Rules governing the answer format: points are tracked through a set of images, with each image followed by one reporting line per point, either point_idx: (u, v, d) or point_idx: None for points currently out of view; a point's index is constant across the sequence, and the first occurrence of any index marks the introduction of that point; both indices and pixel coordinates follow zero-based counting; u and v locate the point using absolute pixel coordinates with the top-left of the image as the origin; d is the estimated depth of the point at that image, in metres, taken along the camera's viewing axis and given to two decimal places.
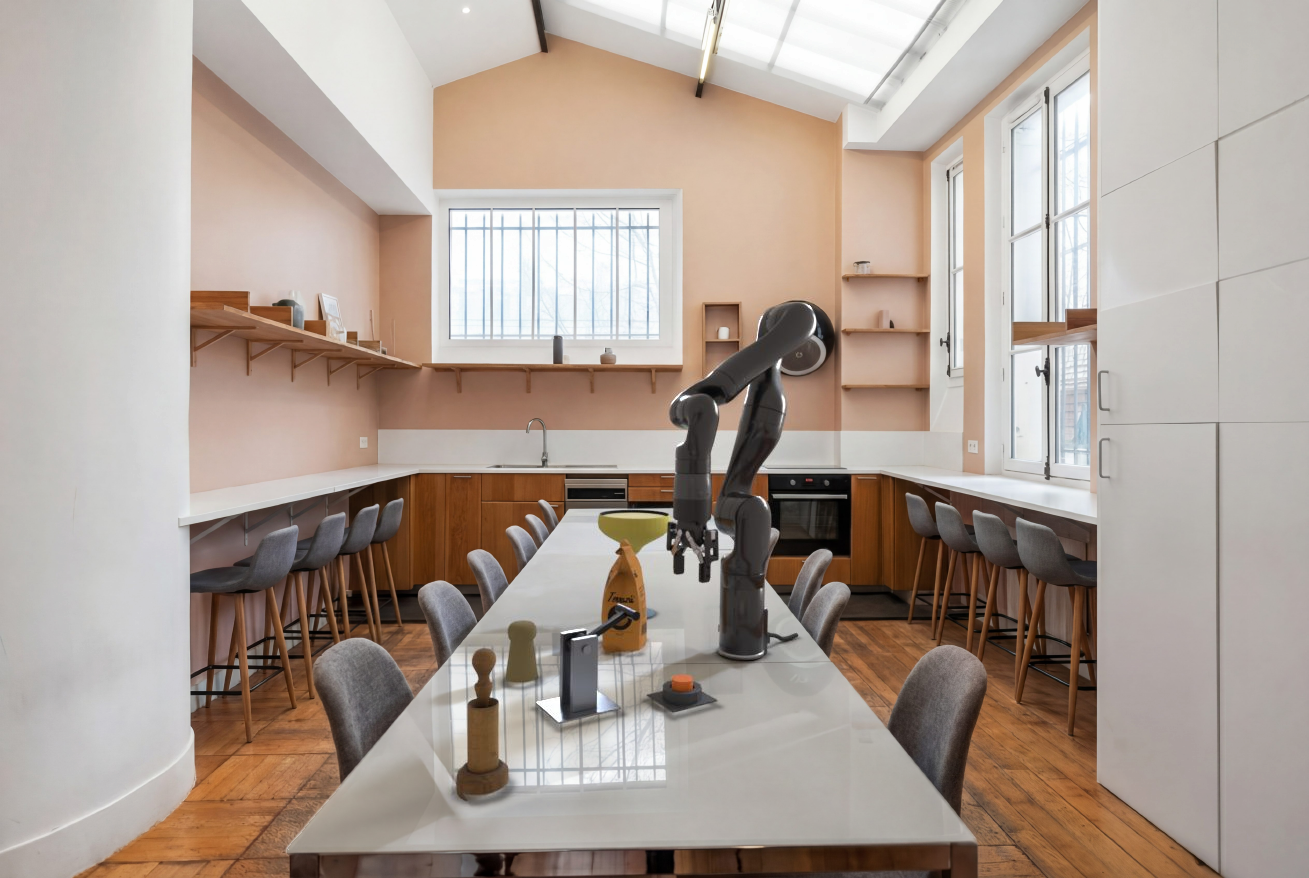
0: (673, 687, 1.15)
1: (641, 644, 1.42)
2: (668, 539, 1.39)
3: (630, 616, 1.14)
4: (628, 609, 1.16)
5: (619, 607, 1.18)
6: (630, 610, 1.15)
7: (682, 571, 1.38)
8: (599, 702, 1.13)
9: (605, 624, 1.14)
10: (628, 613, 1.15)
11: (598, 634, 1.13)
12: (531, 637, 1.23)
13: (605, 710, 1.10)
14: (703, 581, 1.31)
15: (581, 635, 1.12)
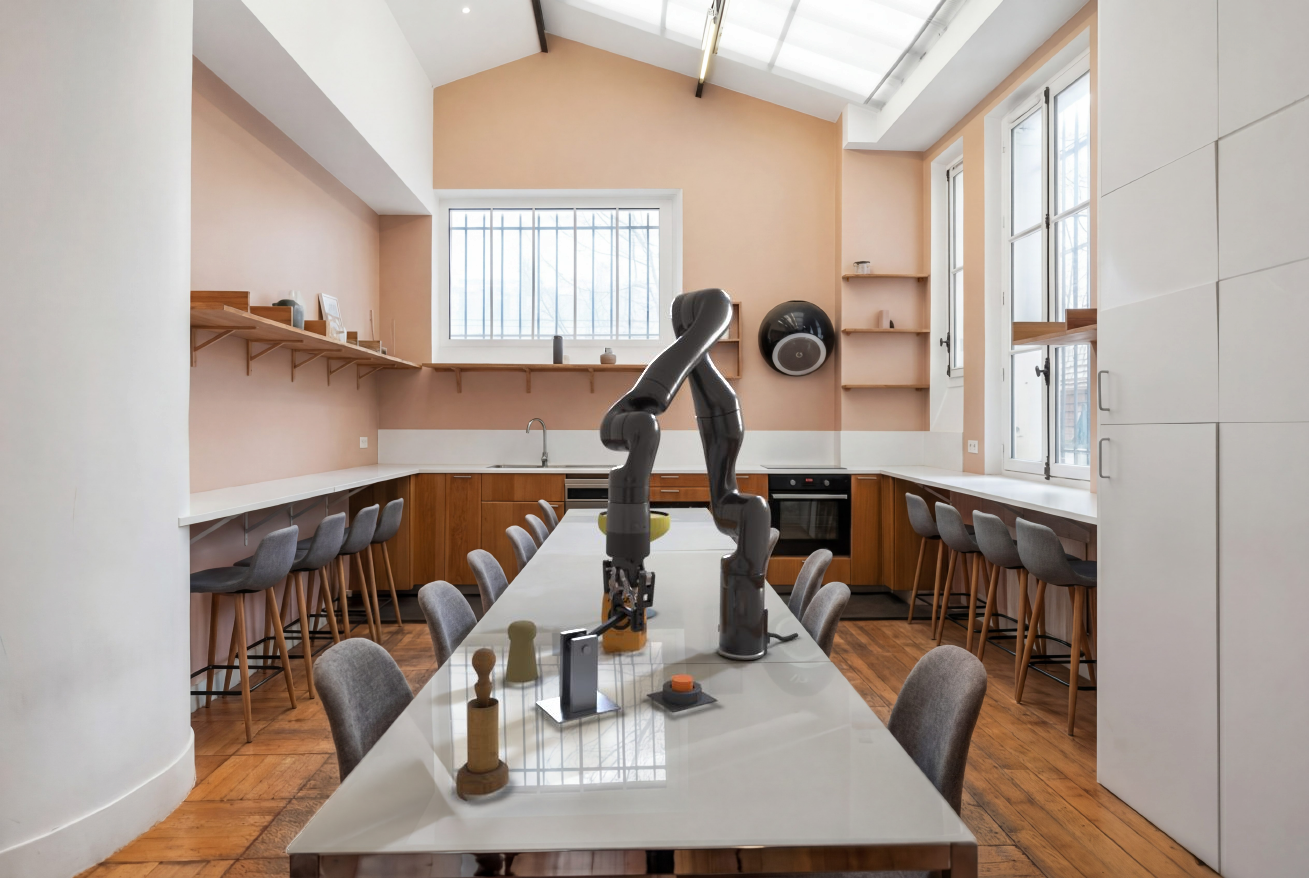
0: (673, 687, 1.15)
1: (641, 644, 1.42)
2: (605, 580, 1.21)
3: (630, 616, 1.14)
4: (628, 609, 1.16)
5: (619, 607, 1.18)
6: (630, 610, 1.15)
7: None
8: (599, 702, 1.13)
9: (605, 624, 1.14)
10: (628, 613, 1.15)
11: (598, 634, 1.13)
12: (531, 637, 1.23)
13: (605, 710, 1.10)
14: (635, 630, 1.13)
15: (581, 635, 1.12)
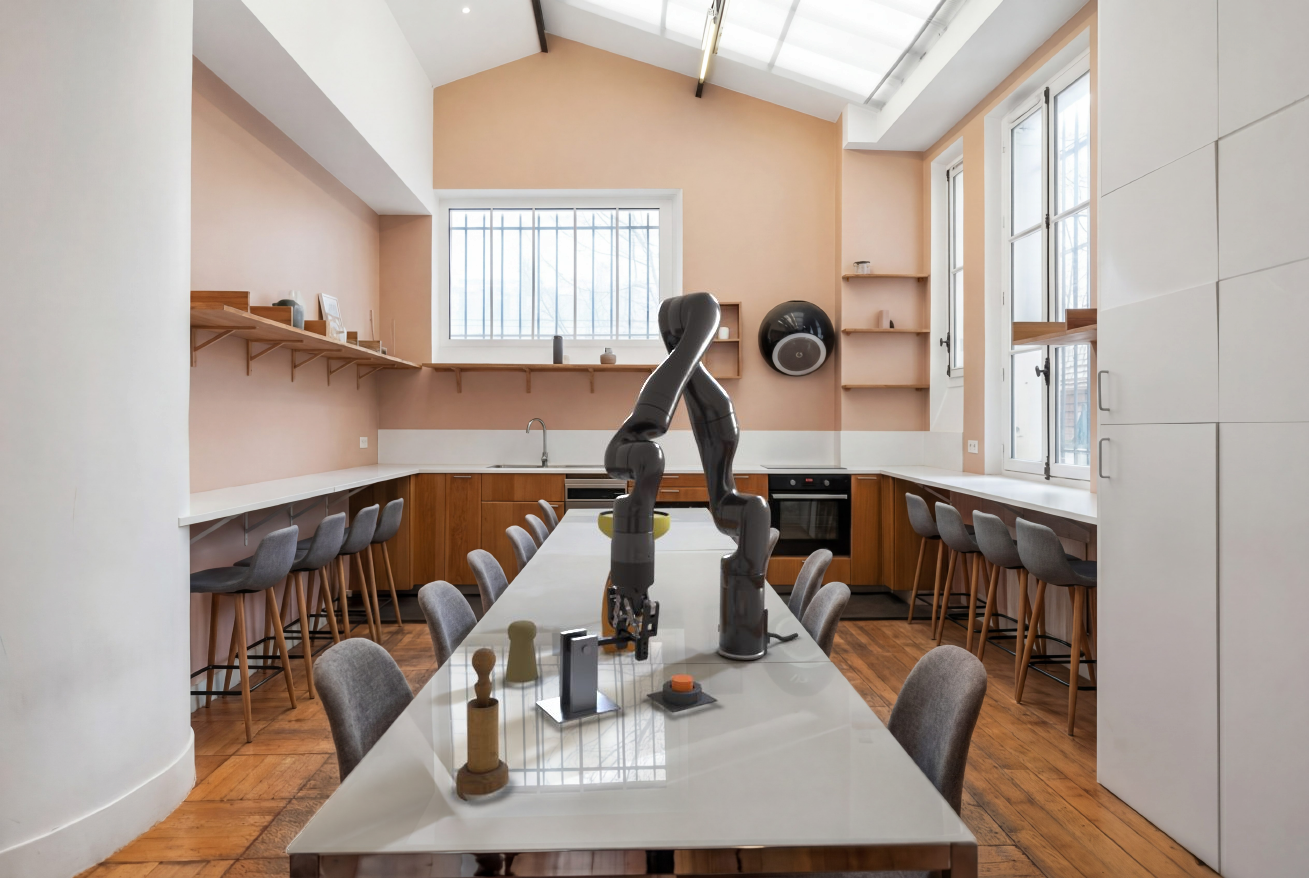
0: (673, 687, 1.15)
1: None
2: (609, 608, 1.21)
3: None
4: (634, 634, 1.16)
5: (625, 631, 1.18)
6: None
7: (625, 645, 1.20)
8: (599, 702, 1.13)
9: (609, 638, 1.15)
10: (633, 637, 1.16)
11: (599, 643, 1.13)
12: (531, 637, 1.23)
13: (605, 710, 1.10)
14: (640, 659, 1.14)
15: None
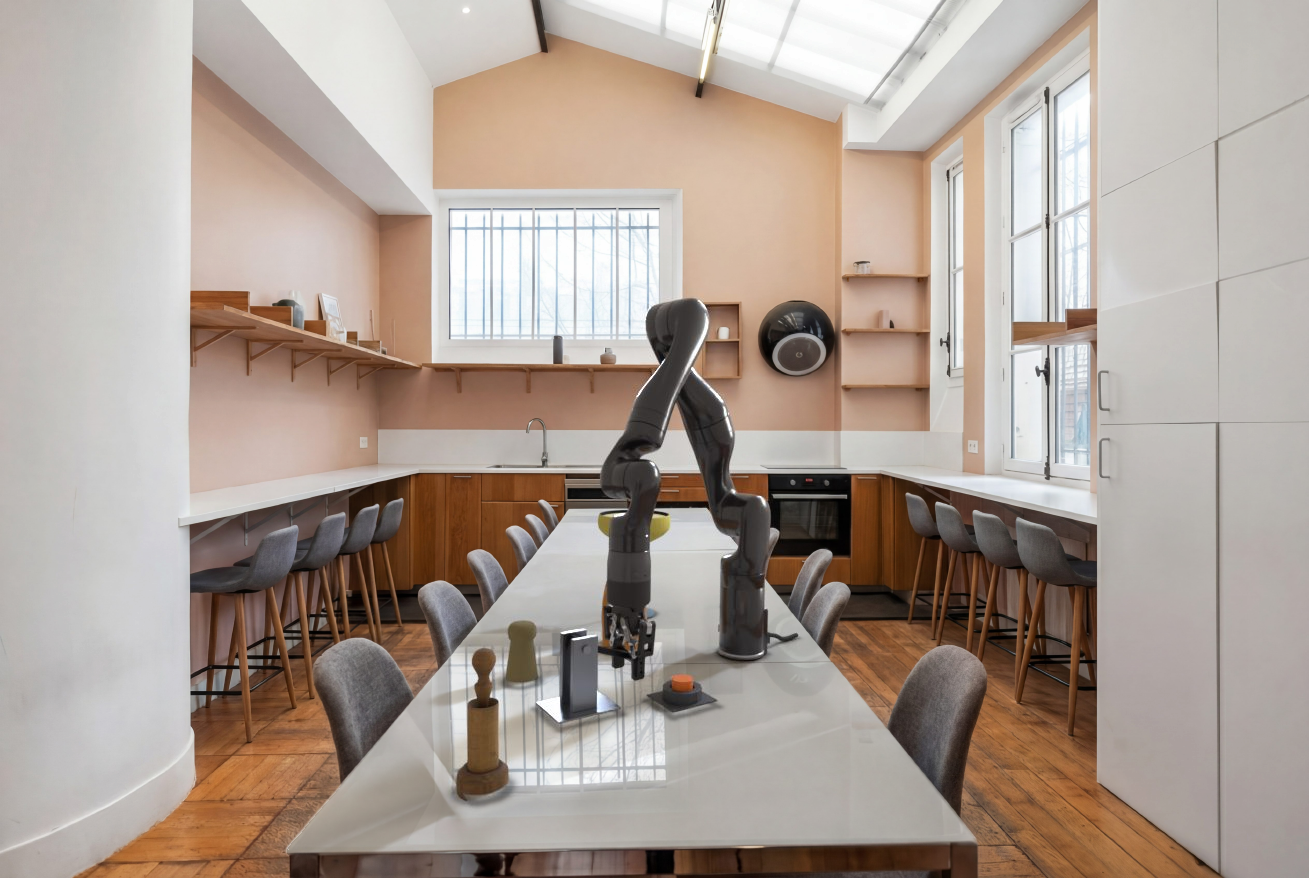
0: (673, 687, 1.15)
1: None
2: (605, 626, 1.21)
3: None
4: None
5: (623, 648, 1.18)
6: None
7: (622, 664, 1.20)
8: (599, 702, 1.13)
9: (608, 648, 1.15)
10: None
11: (598, 650, 1.13)
12: (531, 637, 1.23)
13: (605, 710, 1.10)
14: (636, 678, 1.14)
15: None
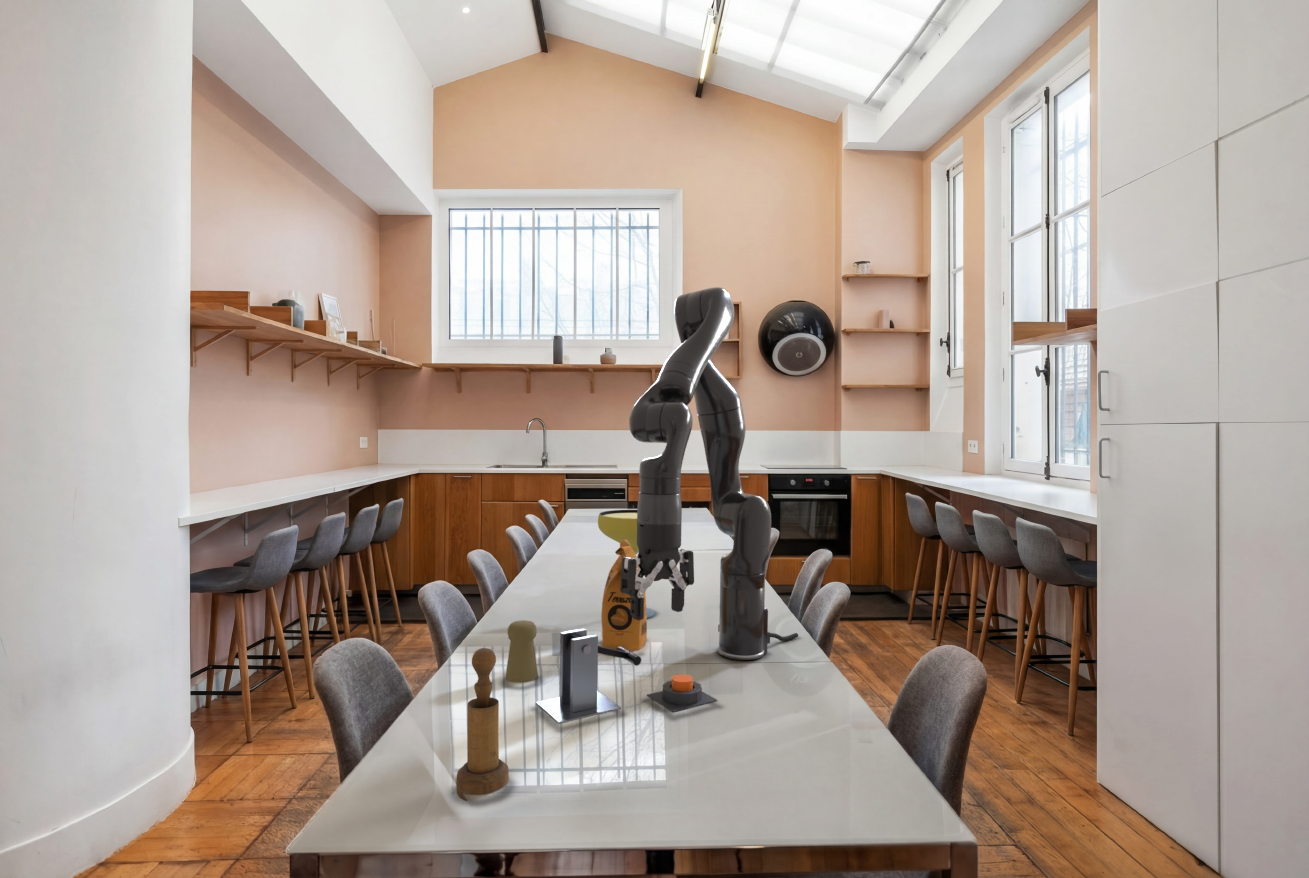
0: (673, 687, 1.15)
1: (641, 644, 1.42)
2: (632, 581, 1.11)
3: (632, 657, 1.15)
4: None
5: (623, 648, 1.18)
6: (634, 654, 1.16)
7: None
8: (599, 702, 1.13)
9: (608, 648, 1.15)
10: (631, 655, 1.15)
11: (598, 650, 1.13)
12: (531, 637, 1.23)
13: (605, 710, 1.10)
14: None
15: None
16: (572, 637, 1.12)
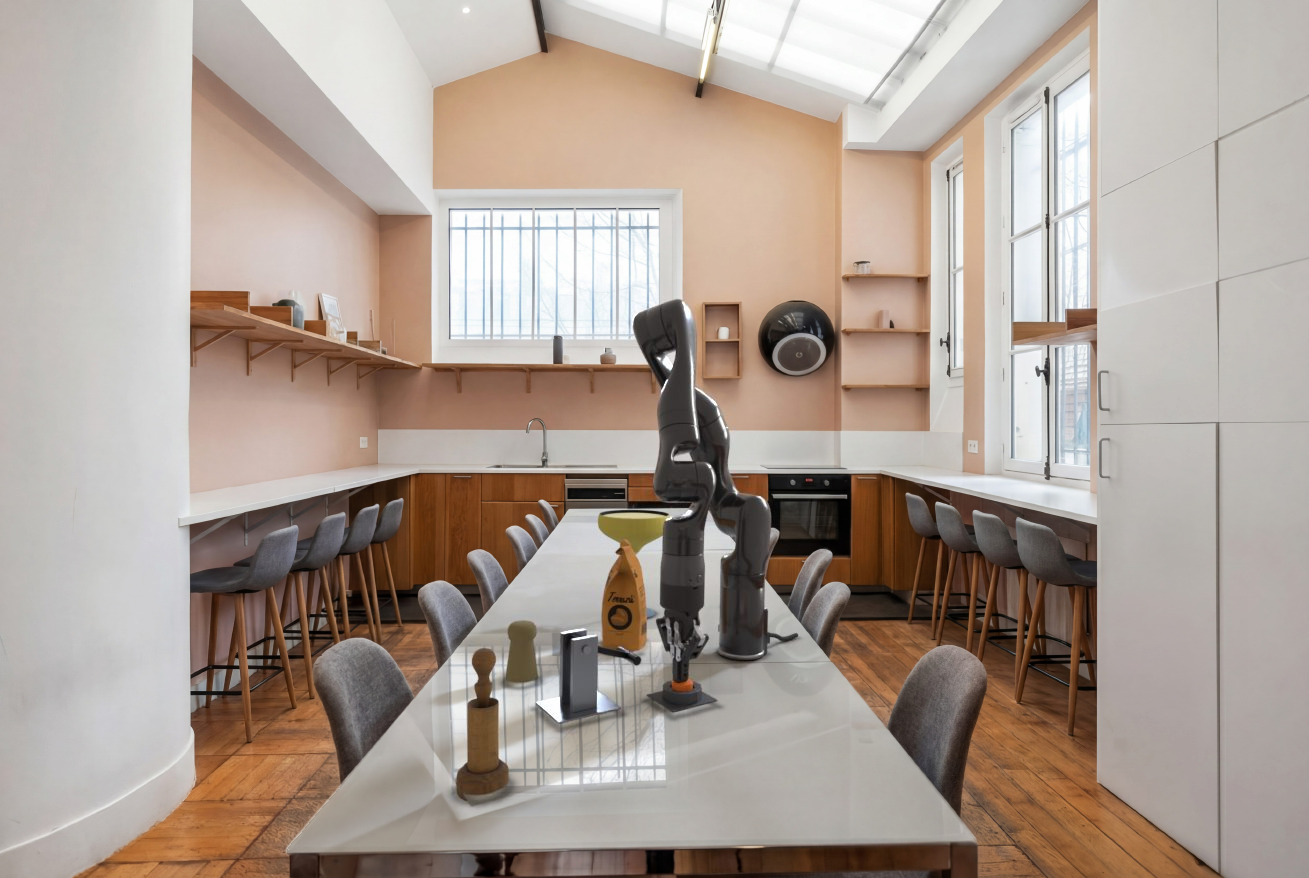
0: None
1: (641, 644, 1.42)
2: None
3: (632, 657, 1.15)
4: None
5: (623, 648, 1.18)
6: (634, 654, 1.16)
7: None
8: (599, 702, 1.13)
9: (608, 648, 1.15)
10: (631, 655, 1.15)
11: (598, 650, 1.13)
12: (531, 637, 1.23)
13: (605, 710, 1.10)
14: None
15: None
16: (572, 637, 1.12)
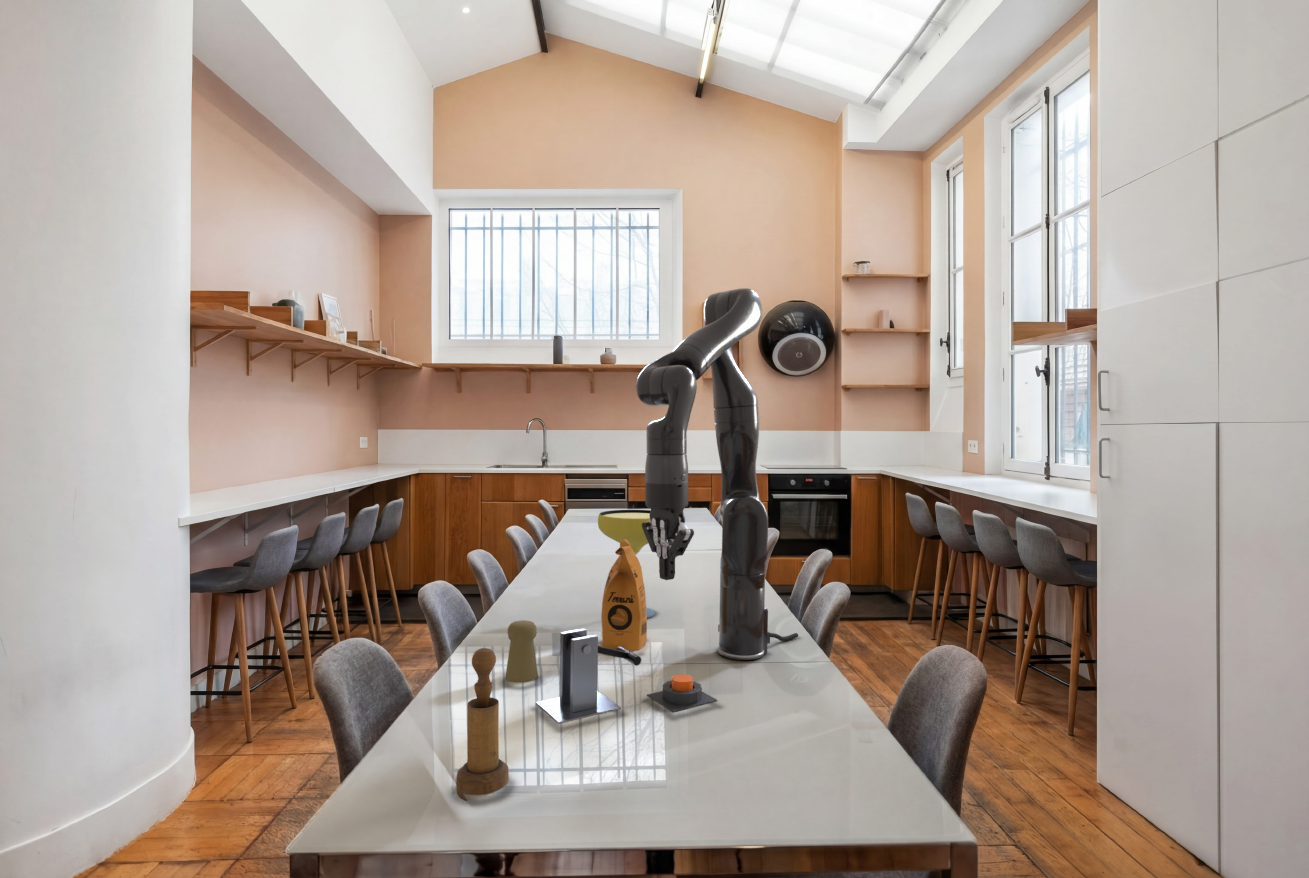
0: (673, 687, 1.15)
1: (641, 644, 1.42)
2: None
3: (632, 657, 1.15)
4: None
5: (623, 648, 1.18)
6: (634, 654, 1.16)
7: None
8: (599, 702, 1.13)
9: (608, 648, 1.15)
10: (631, 655, 1.15)
11: (598, 650, 1.13)
12: (531, 637, 1.23)
13: (605, 710, 1.10)
14: None
15: None
16: (572, 637, 1.12)
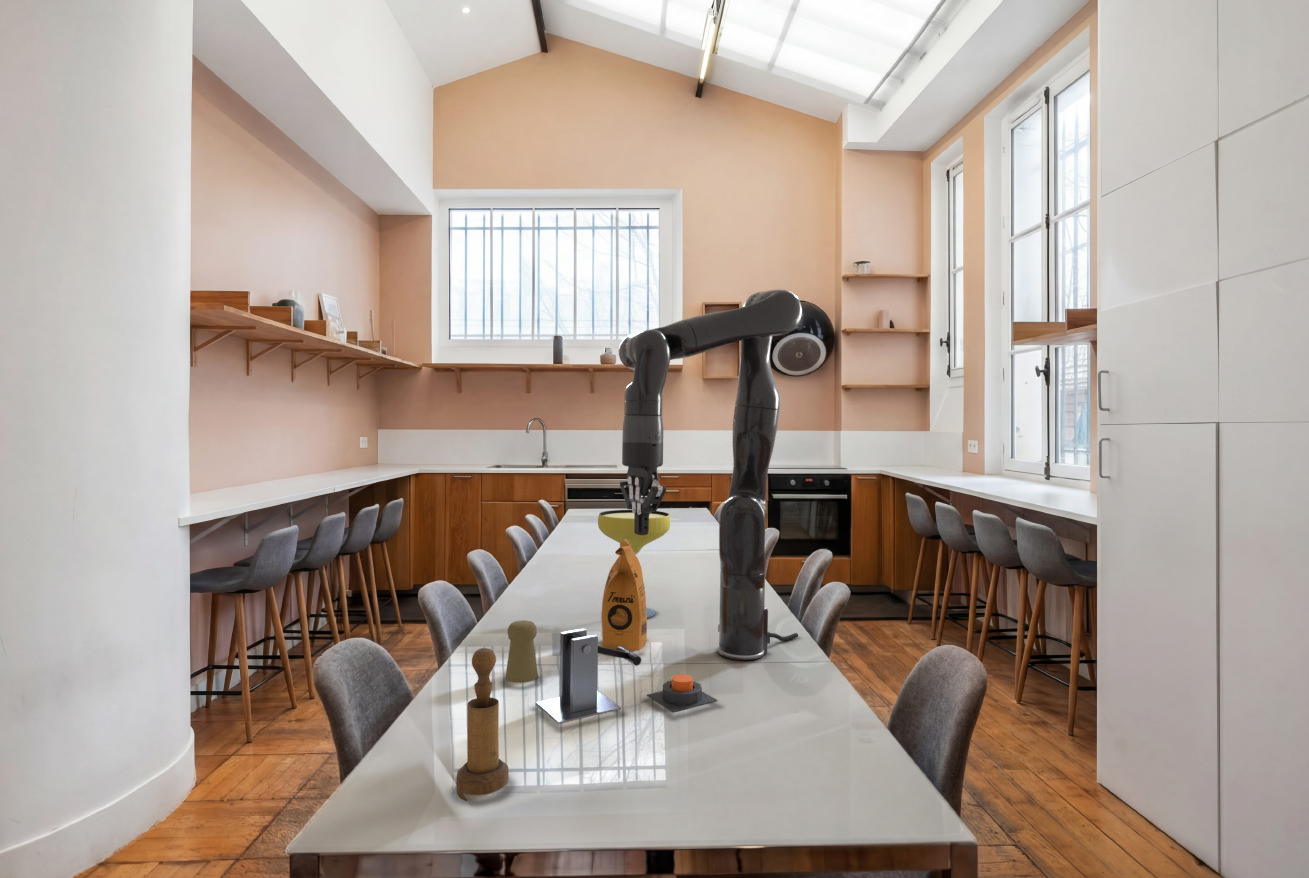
0: (673, 687, 1.15)
1: (641, 644, 1.42)
2: None
3: (632, 657, 1.15)
4: None
5: (623, 648, 1.18)
6: (634, 654, 1.16)
7: None
8: (599, 702, 1.13)
9: (608, 648, 1.15)
10: (631, 655, 1.15)
11: (598, 650, 1.13)
12: (531, 637, 1.23)
13: (605, 710, 1.10)
14: None
15: None
16: (572, 637, 1.12)
